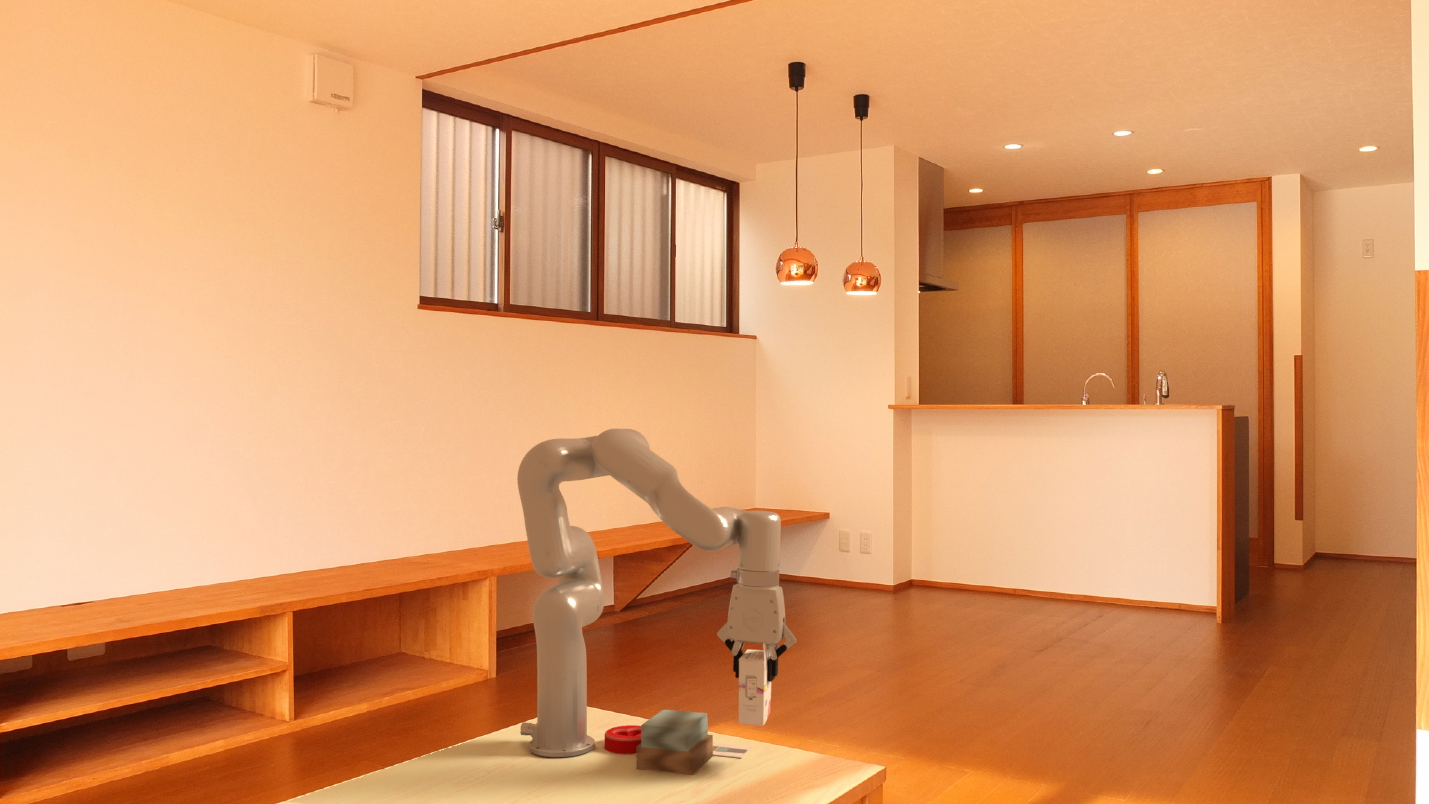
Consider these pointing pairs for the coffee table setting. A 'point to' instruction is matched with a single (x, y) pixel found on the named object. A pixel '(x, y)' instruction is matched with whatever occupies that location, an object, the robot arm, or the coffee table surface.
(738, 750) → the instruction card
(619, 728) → the decorative ornament
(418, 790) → the coffee table surface
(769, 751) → the coffee table surface
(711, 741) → the pedestal
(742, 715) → the ink cartridge box
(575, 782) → the coffee table surface
